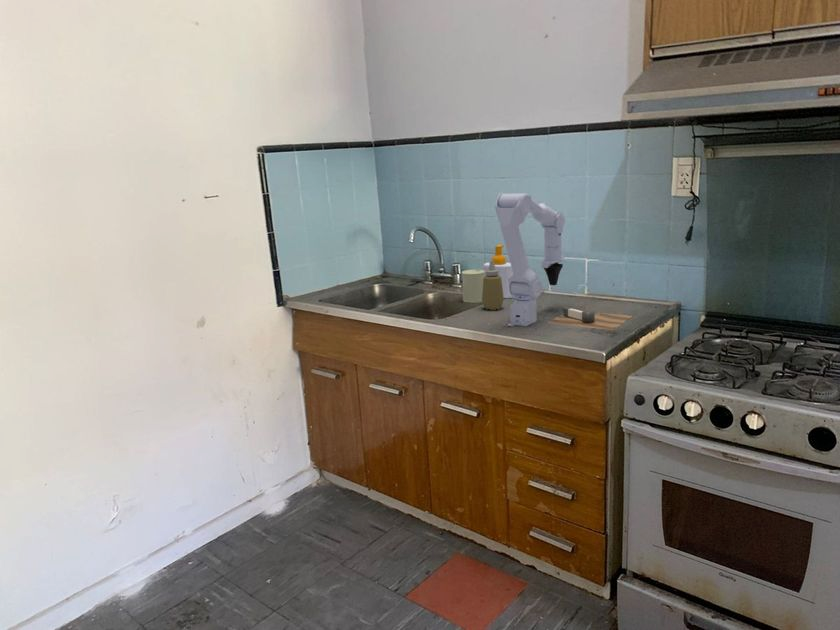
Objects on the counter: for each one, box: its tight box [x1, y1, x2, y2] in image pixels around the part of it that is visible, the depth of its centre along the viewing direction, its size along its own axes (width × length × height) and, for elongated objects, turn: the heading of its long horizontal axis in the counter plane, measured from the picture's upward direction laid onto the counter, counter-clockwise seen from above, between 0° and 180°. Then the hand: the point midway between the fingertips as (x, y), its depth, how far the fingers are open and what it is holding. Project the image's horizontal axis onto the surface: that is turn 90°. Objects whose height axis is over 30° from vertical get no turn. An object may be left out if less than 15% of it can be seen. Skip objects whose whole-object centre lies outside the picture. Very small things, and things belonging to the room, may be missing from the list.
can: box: [461, 269, 485, 304], centre depth 247 cm, size 9×9×12 cm
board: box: [547, 311, 633, 331], centre depth 207 cm, size 19×22×1 cm
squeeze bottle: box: [482, 259, 505, 311], centre depth 231 cm, size 8×8×18 cm
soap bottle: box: [483, 244, 513, 299], centre depth 250 cm, size 13×8×20 cm, turn 56°
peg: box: [562, 306, 595, 323], centre depth 208 cm, size 13×4×3 cm, turn 30°
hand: (553, 284), depth 221 cm, fingers closed
